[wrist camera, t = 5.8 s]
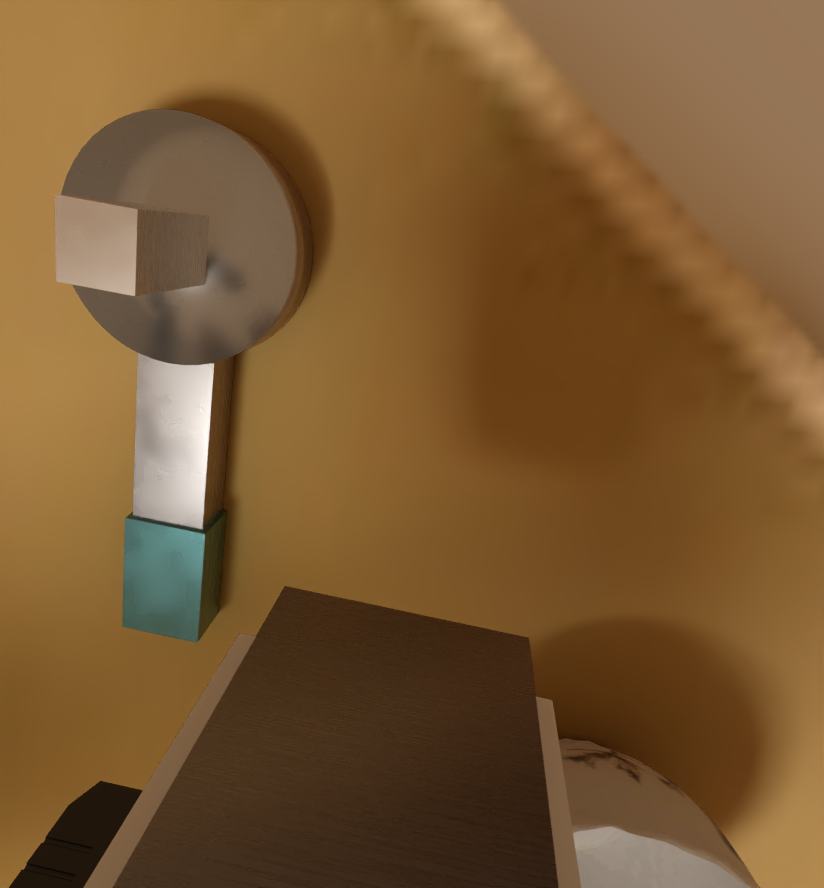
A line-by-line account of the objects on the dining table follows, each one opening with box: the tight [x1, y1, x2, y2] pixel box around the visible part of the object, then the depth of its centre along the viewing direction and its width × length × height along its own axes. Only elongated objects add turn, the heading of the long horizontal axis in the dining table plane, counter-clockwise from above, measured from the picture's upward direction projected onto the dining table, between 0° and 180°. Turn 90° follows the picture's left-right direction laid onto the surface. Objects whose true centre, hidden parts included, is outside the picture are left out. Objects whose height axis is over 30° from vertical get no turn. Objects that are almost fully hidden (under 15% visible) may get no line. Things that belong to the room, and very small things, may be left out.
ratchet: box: [55, 109, 313, 642], centre depth 22 cm, size 8×20×7 cm, turn 170°
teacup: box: [559, 738, 760, 888], centre depth 26 cm, size 15×12×8 cm
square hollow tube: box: [113, 586, 559, 888], centre depth 10 cm, size 5×5×7 cm
